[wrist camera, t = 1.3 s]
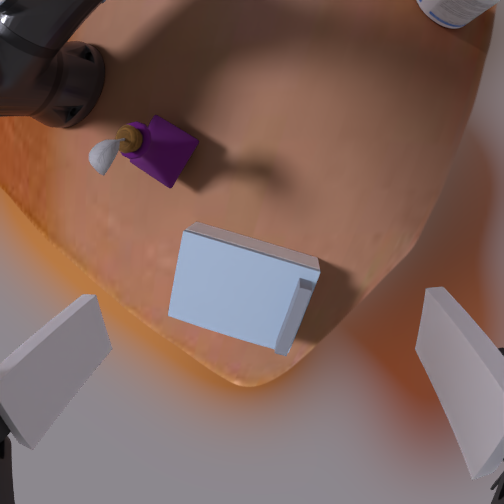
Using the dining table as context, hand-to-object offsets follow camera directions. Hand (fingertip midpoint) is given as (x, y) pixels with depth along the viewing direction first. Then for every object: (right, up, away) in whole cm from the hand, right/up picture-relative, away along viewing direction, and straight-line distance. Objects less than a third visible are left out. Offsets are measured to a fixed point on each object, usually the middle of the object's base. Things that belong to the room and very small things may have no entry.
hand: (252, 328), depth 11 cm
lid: (-2, -3, +31) cm, 31 cm away
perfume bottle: (-11, +17, +31) cm, 37 cm away
